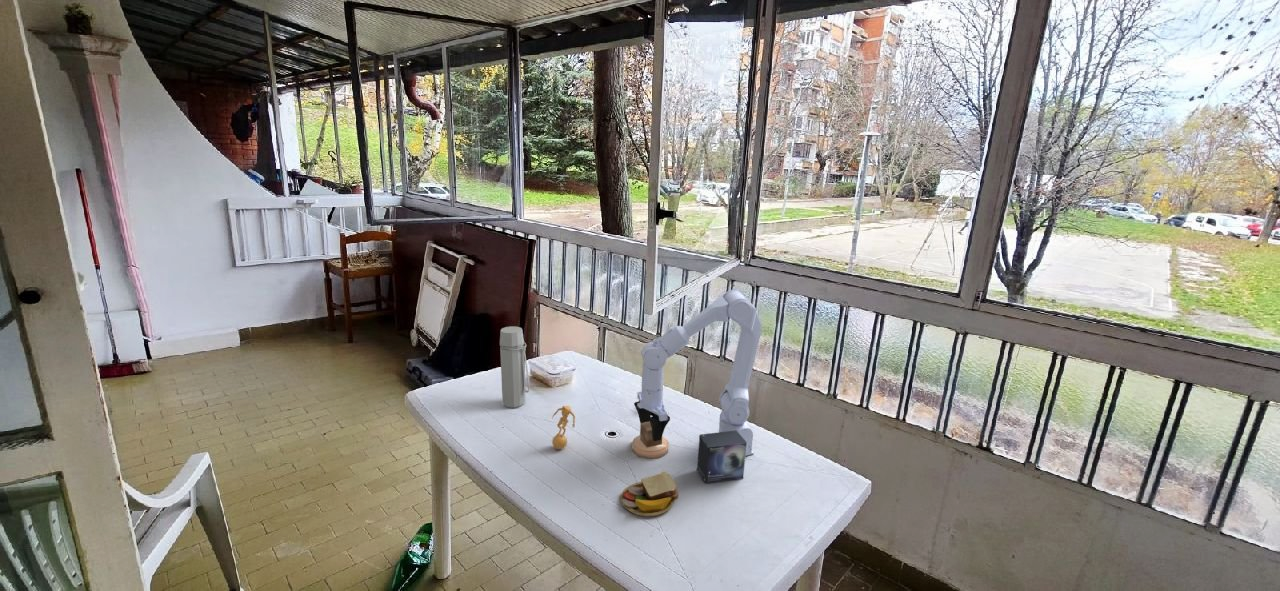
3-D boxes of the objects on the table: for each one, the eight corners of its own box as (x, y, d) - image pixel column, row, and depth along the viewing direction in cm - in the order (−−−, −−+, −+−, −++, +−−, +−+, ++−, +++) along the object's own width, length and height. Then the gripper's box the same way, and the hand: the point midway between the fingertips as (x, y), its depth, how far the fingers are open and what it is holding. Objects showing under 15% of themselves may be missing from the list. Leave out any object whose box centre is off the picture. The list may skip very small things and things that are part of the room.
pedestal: (674, 453, 146) (675, 447, 146) (641, 461, 142) (641, 454, 142) (658, 436, 155) (658, 430, 155) (626, 443, 151) (626, 436, 151)
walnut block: (661, 444, 147) (662, 427, 146) (647, 447, 145) (647, 430, 144) (654, 436, 151) (655, 420, 150) (640, 439, 149) (640, 423, 148)
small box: (705, 485, 133) (707, 447, 130) (695, 470, 139) (697, 433, 136) (744, 479, 136) (747, 442, 133) (733, 465, 142) (736, 429, 139)
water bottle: (497, 407, 170) (493, 332, 164) (510, 397, 177) (507, 324, 171) (523, 412, 167) (521, 335, 161) (535, 401, 175) (533, 327, 168)
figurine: (543, 446, 149) (542, 406, 146) (559, 437, 153) (558, 398, 150) (565, 456, 144) (565, 415, 141) (581, 447, 148) (580, 407, 145)
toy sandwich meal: (617, 488, 131) (617, 471, 130) (671, 483, 134) (671, 466, 133) (624, 522, 120) (625, 503, 118) (684, 516, 122) (685, 498, 121)
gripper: (627, 379, 149) (626, 423, 152) (650, 401, 136) (649, 449, 140) (650, 375, 152) (649, 419, 155) (675, 396, 139) (673, 443, 142)
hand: (650, 433), depth 148 cm, fingers open, 7 cm apart
